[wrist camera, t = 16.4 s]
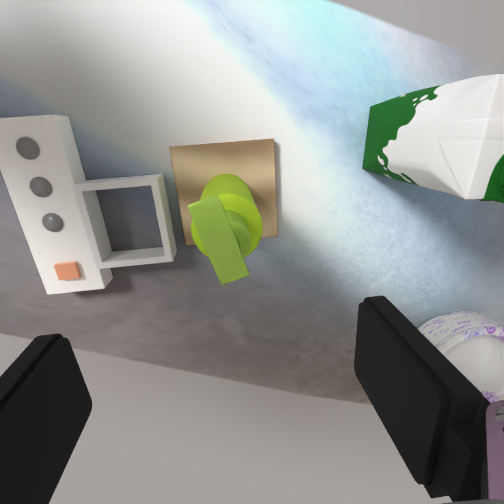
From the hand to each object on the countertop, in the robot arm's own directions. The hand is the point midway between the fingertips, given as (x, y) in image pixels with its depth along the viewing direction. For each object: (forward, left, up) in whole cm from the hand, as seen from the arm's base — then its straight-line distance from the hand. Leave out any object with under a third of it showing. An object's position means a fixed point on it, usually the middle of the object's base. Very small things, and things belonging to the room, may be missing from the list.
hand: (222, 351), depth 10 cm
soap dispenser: (0, 0, -29) cm, 29 cm away
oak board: (0, 0, -30) cm, 30 cm away
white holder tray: (0, -15, -30) cm, 33 cm away
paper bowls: (+27, +32, -30) cm, 52 cm away
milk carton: (-5, +21, -30) cm, 37 cm away
